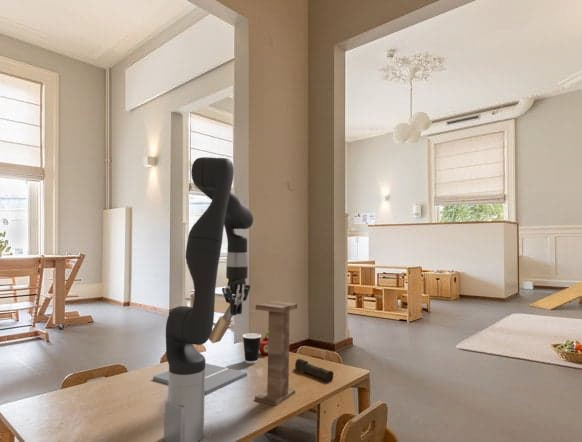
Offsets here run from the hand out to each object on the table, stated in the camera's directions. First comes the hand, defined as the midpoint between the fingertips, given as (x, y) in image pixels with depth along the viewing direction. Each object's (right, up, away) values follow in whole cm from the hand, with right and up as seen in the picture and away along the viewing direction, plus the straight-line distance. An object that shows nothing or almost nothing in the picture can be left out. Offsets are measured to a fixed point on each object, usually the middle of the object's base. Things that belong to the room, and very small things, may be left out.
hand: (236, 314), depth 140 cm
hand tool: (+27, -27, +11) cm, 40 cm away
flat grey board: (-14, -25, +7) cm, 30 cm away
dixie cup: (+3, -27, +27) cm, 38 cm away
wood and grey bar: (-5, -2, +3) cm, 6 cm away
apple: (+8, -27, +39) cm, 49 cm away
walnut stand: (+14, -25, -10) cm, 30 cm away
